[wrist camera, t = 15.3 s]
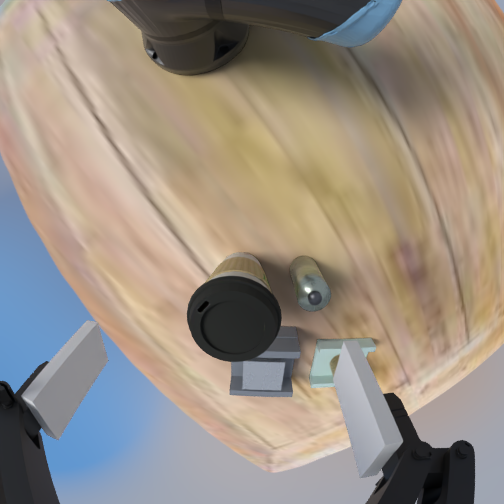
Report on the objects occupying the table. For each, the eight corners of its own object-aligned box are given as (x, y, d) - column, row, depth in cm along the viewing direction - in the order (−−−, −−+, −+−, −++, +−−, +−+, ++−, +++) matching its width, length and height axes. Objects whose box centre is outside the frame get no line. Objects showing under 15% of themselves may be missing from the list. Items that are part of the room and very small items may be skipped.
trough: (317, 339, 44) (320, 349, 41) (371, 337, 44) (376, 346, 41) (308, 377, 47) (311, 387, 44) (358, 375, 47) (362, 384, 44)
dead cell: (290, 255, 40) (300, 282, 30) (318, 256, 40) (334, 283, 30) (288, 280, 41) (296, 314, 32) (314, 281, 41) (329, 314, 32)
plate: (243, 354, 39) (243, 361, 38) (284, 356, 39) (285, 362, 37) (242, 382, 41) (242, 389, 39) (280, 384, 41) (280, 390, 39)
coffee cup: (243, 313, 43) (237, 379, 28) (194, 273, 41) (164, 328, 27) (289, 270, 40) (303, 327, 26) (238, 225, 38) (226, 262, 24)
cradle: (233, 324, 43) (229, 348, 37) (295, 326, 43) (300, 351, 37) (232, 369, 46) (229, 395, 40) (288, 371, 46) (291, 397, 40)
